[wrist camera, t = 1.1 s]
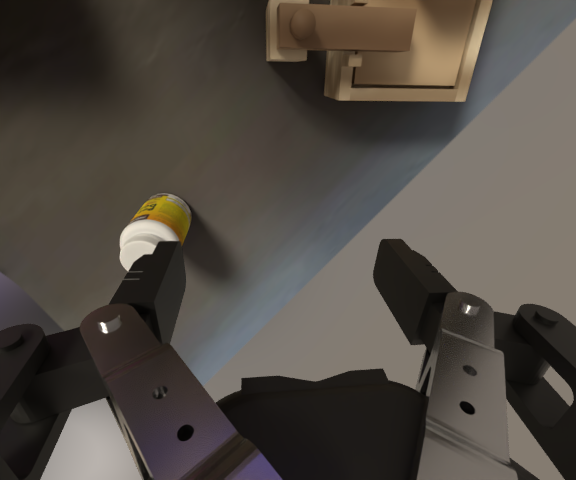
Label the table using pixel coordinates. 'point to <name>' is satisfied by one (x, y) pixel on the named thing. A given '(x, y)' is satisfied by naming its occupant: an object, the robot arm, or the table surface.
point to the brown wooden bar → (344, 28)
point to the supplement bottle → (154, 227)
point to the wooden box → (344, 61)
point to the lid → (421, 46)
